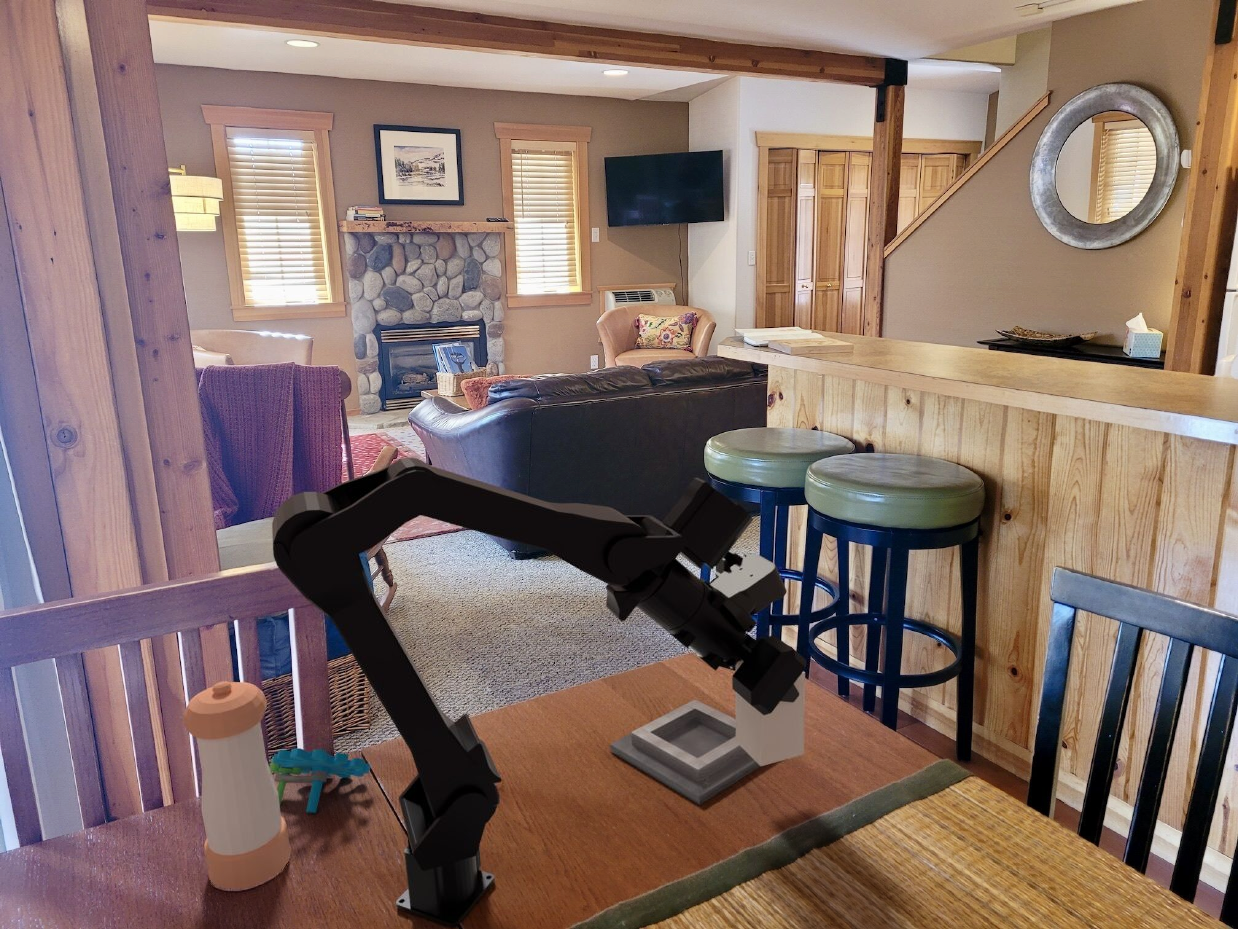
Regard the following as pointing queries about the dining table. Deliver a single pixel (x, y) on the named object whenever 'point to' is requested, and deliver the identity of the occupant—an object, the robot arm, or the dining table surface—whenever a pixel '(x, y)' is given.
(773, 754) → the square block
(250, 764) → the pepper shaker
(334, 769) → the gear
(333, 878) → the dining table surface
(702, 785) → the locating plate
